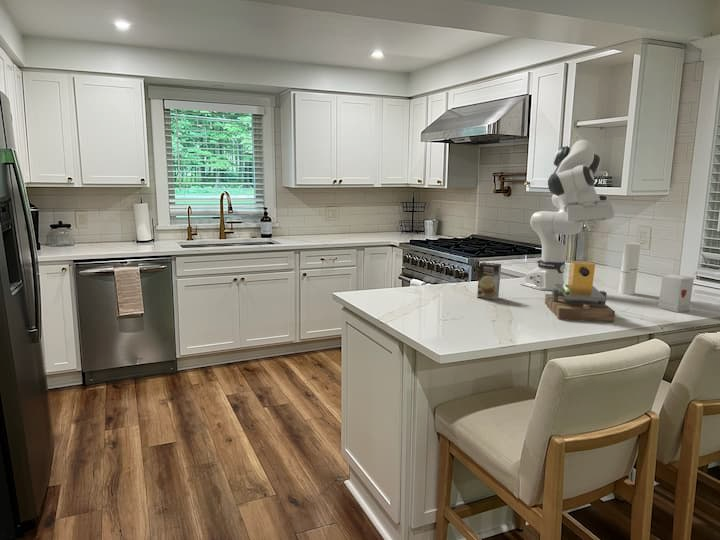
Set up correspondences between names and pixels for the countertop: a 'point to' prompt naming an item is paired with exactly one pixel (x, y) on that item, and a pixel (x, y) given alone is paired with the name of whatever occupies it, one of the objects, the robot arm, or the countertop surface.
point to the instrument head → (580, 283)
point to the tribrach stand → (579, 308)
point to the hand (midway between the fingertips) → (592, 230)
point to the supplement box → (676, 292)
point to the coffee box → (489, 280)
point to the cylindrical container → (629, 268)
